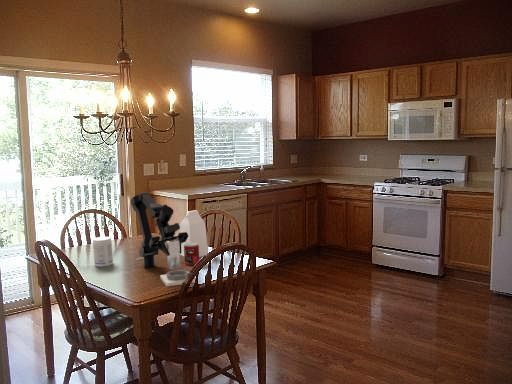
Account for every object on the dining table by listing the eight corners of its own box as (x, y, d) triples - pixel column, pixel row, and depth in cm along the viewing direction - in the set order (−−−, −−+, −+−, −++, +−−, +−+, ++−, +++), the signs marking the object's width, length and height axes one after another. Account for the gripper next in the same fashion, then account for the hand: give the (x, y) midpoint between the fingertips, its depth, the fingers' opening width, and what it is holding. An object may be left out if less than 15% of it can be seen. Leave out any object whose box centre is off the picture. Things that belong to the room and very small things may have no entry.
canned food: (181, 263, 254) (180, 244, 253) (193, 260, 260) (192, 241, 258) (190, 266, 249) (189, 246, 247) (202, 263, 254) (201, 243, 253)
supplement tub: (107, 261, 262) (106, 235, 260) (116, 264, 255) (114, 238, 254) (91, 264, 255) (89, 238, 253) (99, 268, 249) (97, 241, 247)
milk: (190, 258, 264) (188, 213, 261) (180, 254, 273) (178, 210, 269) (208, 255, 271) (206, 210, 268) (197, 251, 280) (196, 208, 277)
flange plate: (160, 278, 230) (159, 271, 229) (188, 274, 235) (187, 267, 235) (166, 286, 217) (166, 279, 216) (195, 282, 222) (195, 275, 222)
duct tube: (165, 267, 223) (163, 241, 221) (173, 264, 228) (172, 238, 226) (174, 269, 220) (173, 242, 218) (182, 266, 225) (181, 239, 223)
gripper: (150, 220, 219) (160, 248, 211) (186, 215, 229) (197, 241, 222) (144, 234, 226) (154, 261, 219) (179, 228, 237) (190, 254, 229)
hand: (174, 254), depth 222 cm, fingers closed on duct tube, 6 cm apart
